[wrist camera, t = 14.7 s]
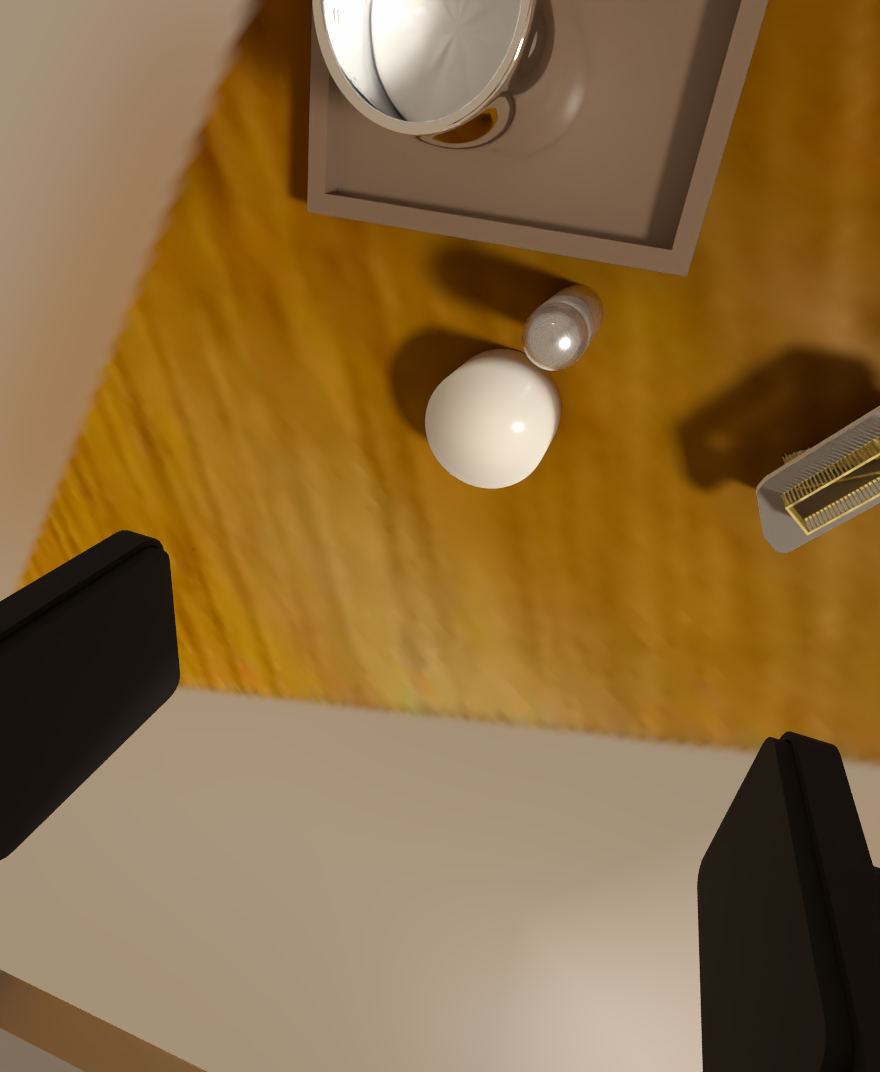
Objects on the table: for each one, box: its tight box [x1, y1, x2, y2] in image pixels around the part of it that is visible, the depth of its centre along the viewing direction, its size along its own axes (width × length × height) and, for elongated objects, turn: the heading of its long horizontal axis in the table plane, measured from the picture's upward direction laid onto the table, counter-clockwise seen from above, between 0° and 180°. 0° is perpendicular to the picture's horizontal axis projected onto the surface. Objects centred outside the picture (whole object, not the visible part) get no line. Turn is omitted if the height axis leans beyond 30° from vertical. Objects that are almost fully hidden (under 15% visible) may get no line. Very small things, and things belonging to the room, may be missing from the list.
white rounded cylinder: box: [425, 349, 561, 488], centre depth 37 cm, size 7×7×4 cm
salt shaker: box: [522, 285, 604, 371], centre depth 32 cm, size 3×3×8 cm
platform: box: [756, 406, 880, 553], centre depth 32 cm, size 12×18×6 cm, turn 135°
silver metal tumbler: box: [312, 0, 589, 155], centre depth 24 cm, size 7×7×15 cm
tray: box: [307, 0, 768, 276], centre depth 31 cm, size 20×14×2 cm
